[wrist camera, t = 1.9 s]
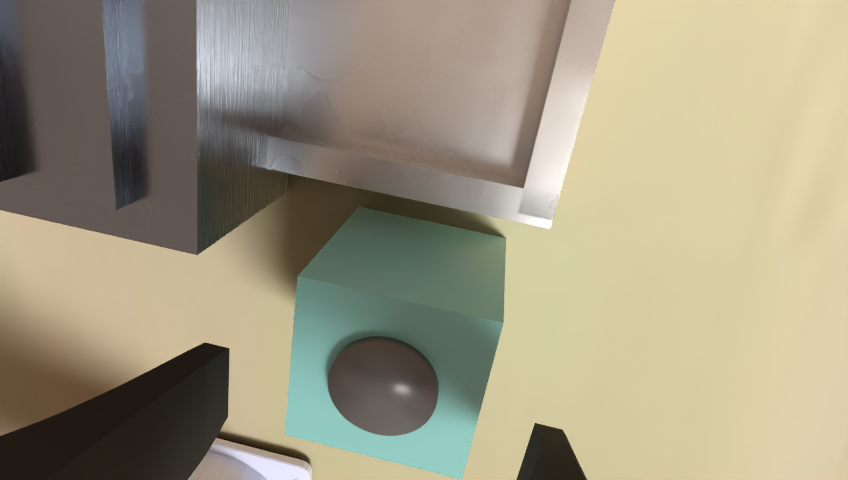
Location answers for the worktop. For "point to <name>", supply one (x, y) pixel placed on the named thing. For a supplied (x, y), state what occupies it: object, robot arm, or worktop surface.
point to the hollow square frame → (286, 107)
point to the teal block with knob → (396, 339)
